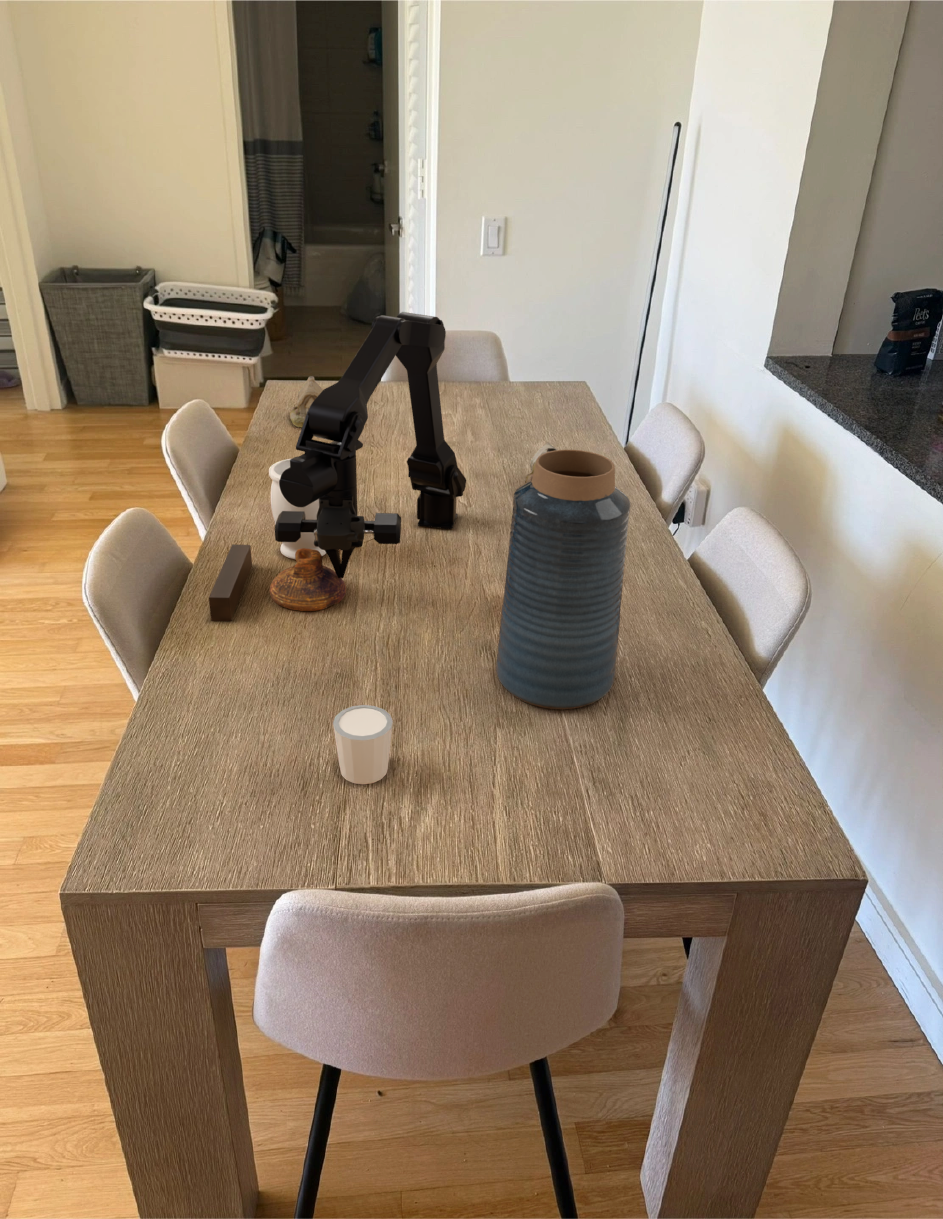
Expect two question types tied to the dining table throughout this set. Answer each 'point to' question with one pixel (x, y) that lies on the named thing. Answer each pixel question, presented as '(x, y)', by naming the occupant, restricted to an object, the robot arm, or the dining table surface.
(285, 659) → the dining table surface
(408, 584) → the dining table surface
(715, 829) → the dining table surface
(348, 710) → the white cup
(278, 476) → the jar
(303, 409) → the ceramic model
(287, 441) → the dining table surface
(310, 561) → the brown clay pot
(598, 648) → the vase
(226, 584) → the bar
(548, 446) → the ceramic sculpture
